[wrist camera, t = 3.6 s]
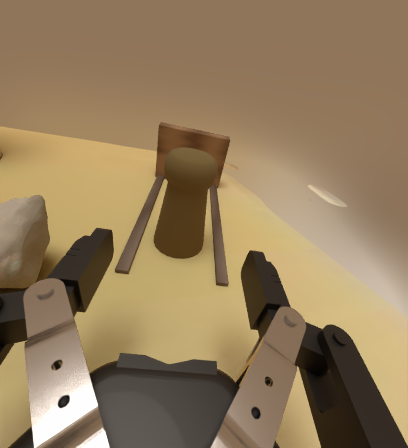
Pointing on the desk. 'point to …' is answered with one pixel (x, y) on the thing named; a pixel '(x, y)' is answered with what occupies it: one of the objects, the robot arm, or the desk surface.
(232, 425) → the robot arm
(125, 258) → the lane
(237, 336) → the desk surface
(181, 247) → the cork
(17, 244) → the ceramic sculpture
